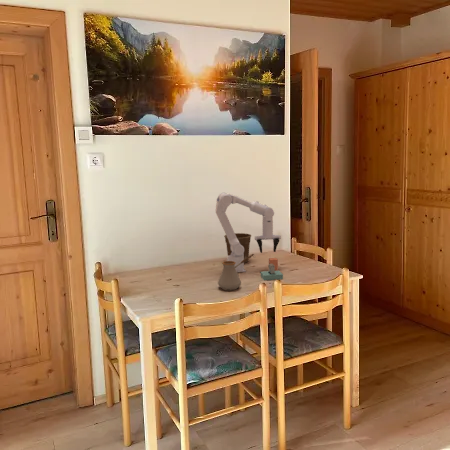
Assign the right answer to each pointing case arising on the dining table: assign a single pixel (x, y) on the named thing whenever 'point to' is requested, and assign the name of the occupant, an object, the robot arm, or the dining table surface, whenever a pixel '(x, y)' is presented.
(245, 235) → the plant pot
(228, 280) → the coffee pot
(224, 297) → the dining table surface
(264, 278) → the slot block
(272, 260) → the square peg
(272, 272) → the steel bar
